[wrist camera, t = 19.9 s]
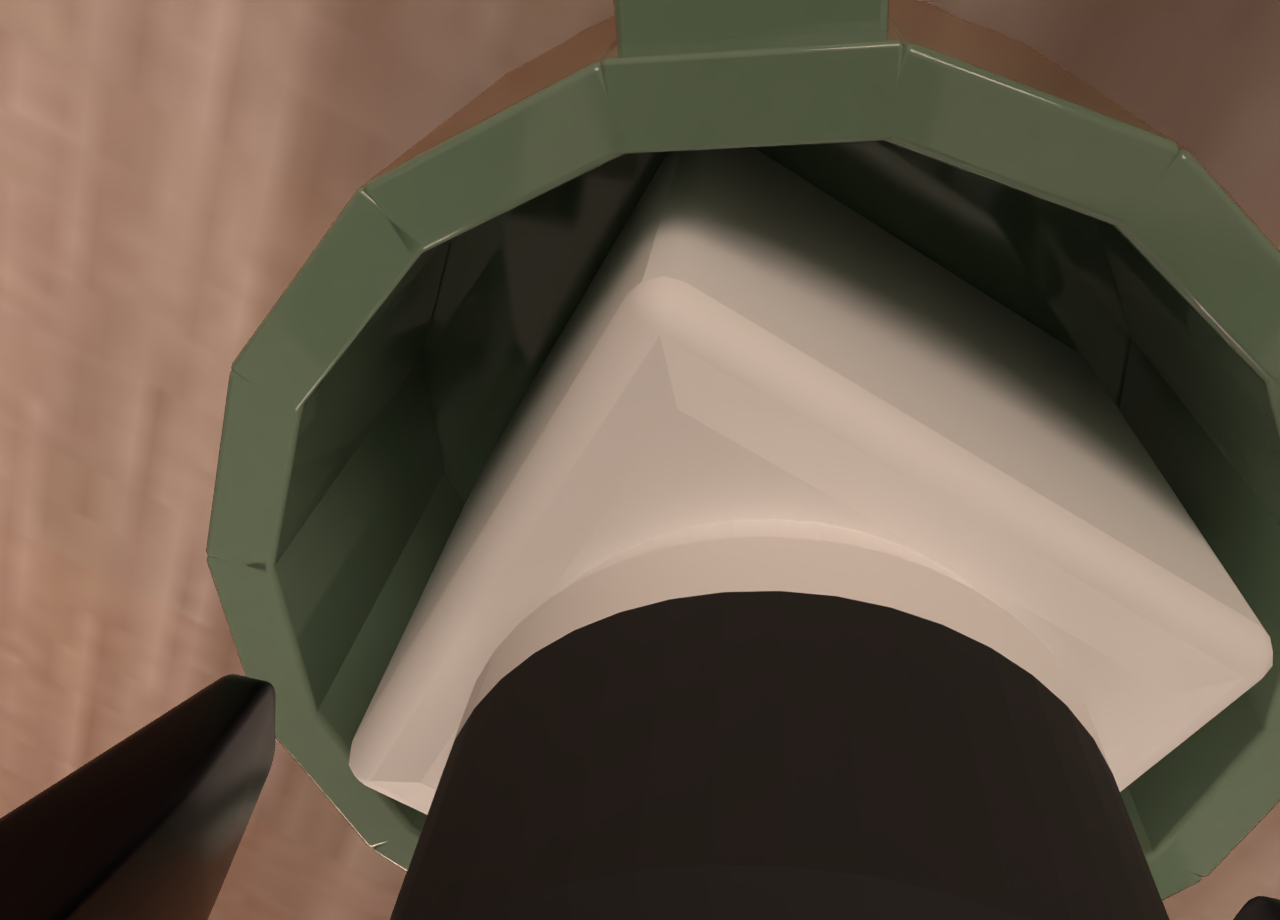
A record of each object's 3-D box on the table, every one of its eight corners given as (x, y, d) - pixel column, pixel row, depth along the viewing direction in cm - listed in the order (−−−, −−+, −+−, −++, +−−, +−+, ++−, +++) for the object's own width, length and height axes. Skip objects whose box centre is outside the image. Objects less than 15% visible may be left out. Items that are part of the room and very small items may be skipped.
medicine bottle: (478, 470, 18) (84, 1294, 8) (694, 104, 15) (520, 681, 4) (821, 655, 19) (889, 1584, 9) (1093, 356, 16) (1734, 1295, 5)
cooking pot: (1295, -314, 12) (1764, -479, 6) (1085, 792, 21) (1204, 1133, 15) (269, -211, 14) (-77, -270, 8) (475, 776, 22) (379, 1078, 17)
